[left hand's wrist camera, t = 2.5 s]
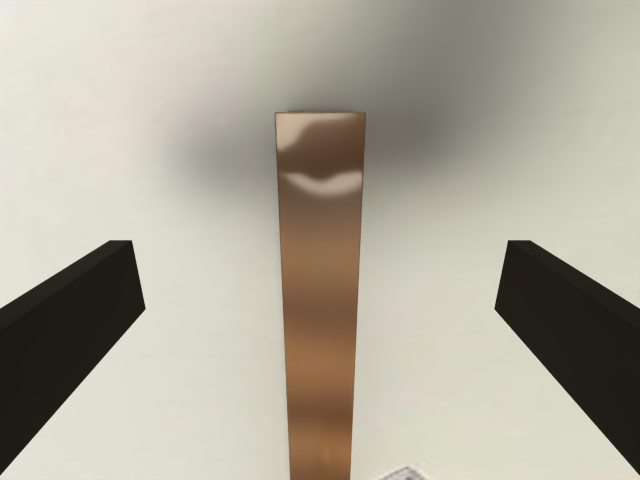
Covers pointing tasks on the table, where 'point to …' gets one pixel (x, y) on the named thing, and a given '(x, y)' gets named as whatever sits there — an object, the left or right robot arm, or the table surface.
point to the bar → (320, 283)
